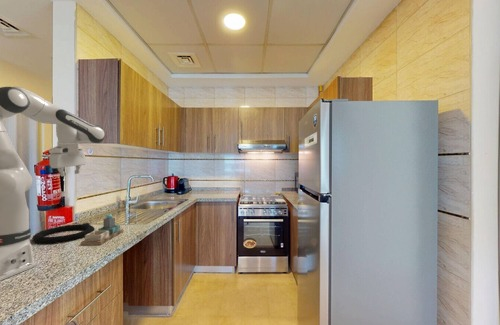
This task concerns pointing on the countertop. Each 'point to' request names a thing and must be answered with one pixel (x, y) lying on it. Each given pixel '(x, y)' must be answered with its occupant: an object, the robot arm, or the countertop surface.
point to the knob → (109, 222)
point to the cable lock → (59, 239)
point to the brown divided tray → (101, 236)
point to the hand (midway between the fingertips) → (70, 174)
